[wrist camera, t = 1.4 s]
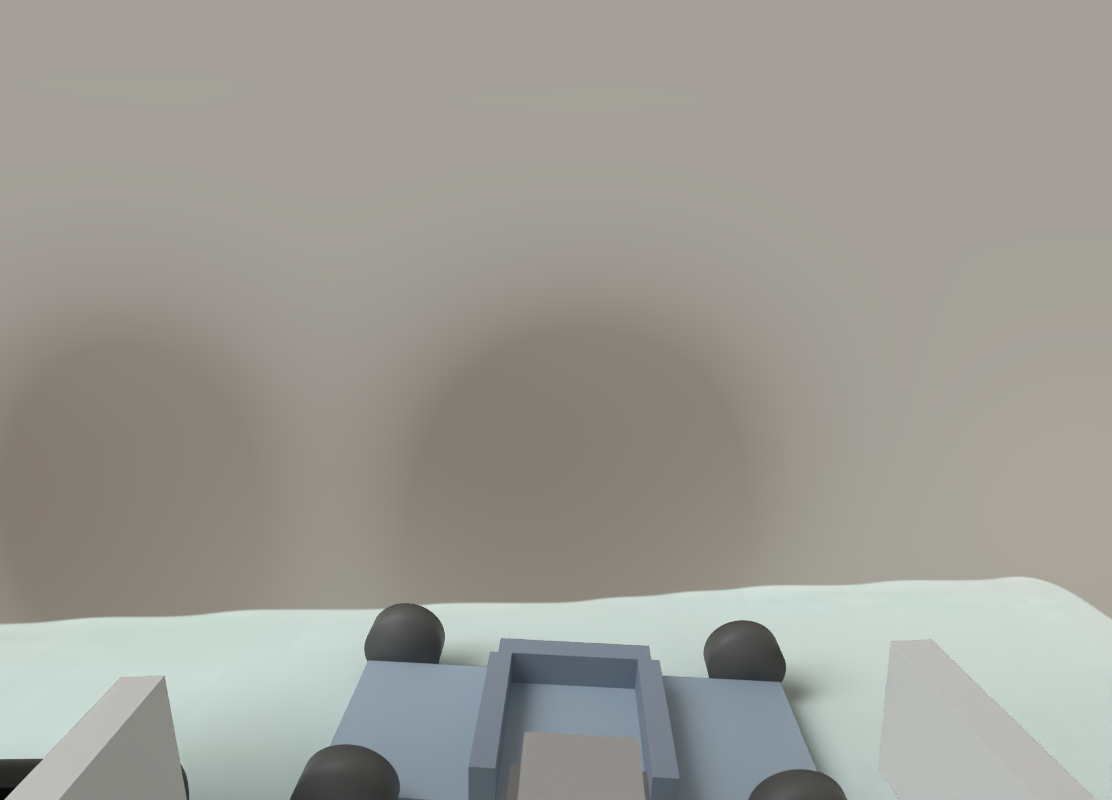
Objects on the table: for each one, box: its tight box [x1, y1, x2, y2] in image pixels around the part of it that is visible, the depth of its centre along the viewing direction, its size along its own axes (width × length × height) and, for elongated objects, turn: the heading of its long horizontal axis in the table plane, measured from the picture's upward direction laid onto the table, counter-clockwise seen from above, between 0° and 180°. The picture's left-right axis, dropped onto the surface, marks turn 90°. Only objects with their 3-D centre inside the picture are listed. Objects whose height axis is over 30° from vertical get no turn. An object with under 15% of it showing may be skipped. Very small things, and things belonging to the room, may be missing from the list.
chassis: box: [290, 603, 847, 800], centre depth 34 cm, size 24×12×4 cm, turn 88°
